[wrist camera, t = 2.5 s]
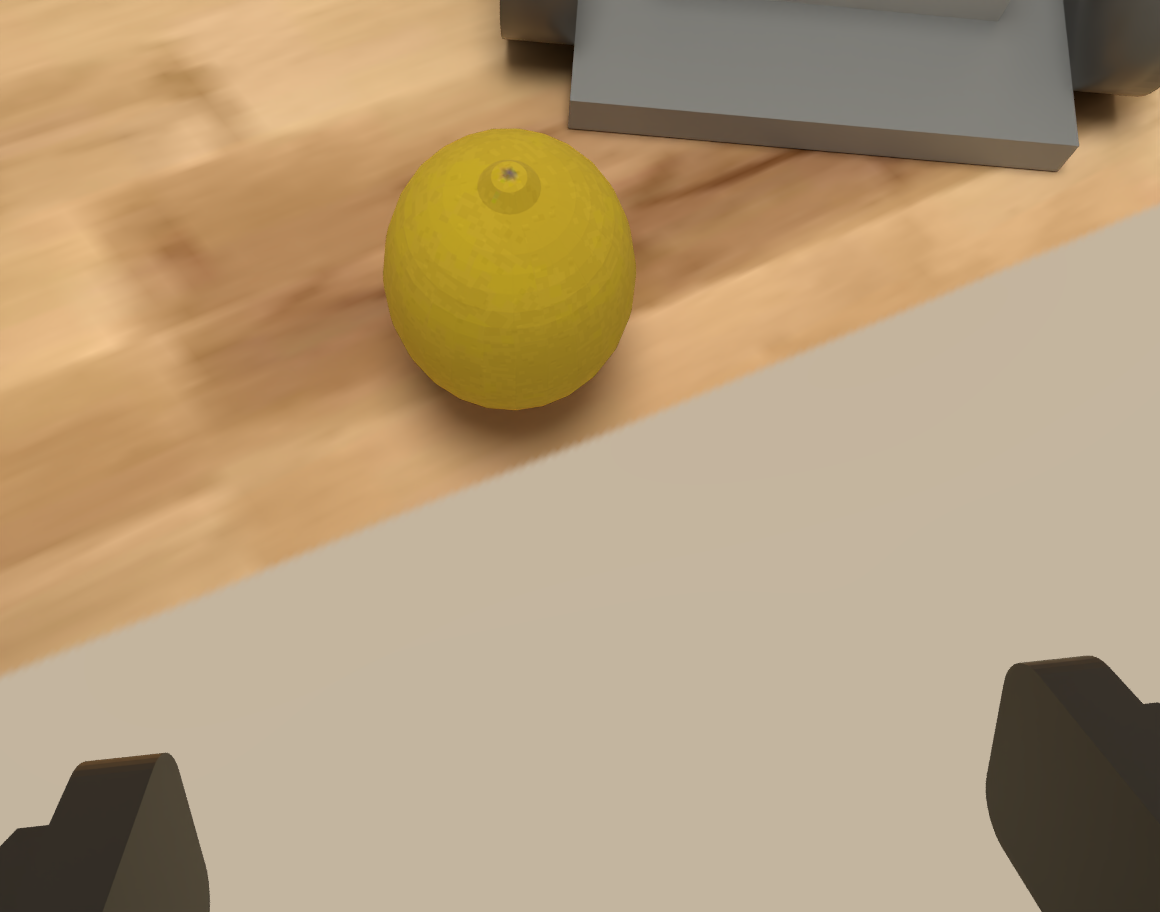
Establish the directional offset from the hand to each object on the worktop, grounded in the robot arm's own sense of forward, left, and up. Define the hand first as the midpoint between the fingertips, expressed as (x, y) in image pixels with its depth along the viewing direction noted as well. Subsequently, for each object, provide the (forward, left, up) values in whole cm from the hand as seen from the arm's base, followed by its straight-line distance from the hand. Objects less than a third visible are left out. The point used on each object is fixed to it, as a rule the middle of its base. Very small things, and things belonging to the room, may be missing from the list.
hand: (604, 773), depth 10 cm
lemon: (-2, +11, -14) cm, 18 cm away
